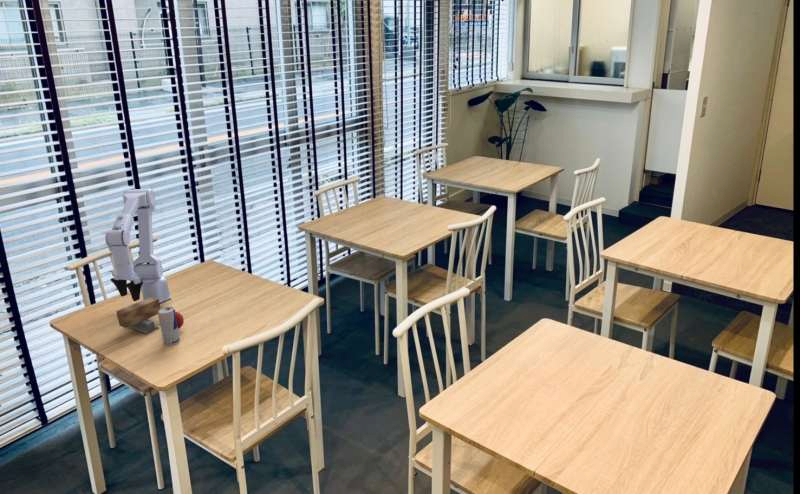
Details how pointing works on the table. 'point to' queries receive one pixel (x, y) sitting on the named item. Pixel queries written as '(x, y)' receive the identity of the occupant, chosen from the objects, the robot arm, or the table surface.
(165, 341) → the energy drink
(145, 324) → the ridge
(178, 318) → the onion
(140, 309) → the batten
